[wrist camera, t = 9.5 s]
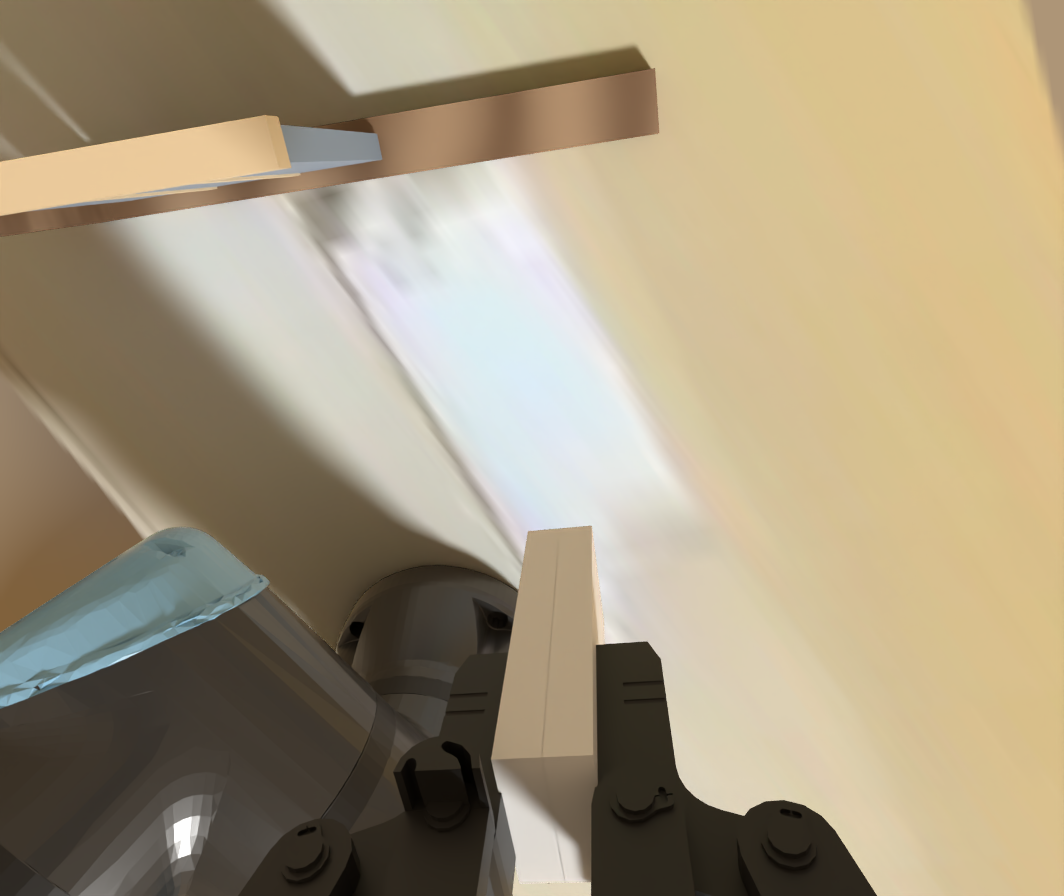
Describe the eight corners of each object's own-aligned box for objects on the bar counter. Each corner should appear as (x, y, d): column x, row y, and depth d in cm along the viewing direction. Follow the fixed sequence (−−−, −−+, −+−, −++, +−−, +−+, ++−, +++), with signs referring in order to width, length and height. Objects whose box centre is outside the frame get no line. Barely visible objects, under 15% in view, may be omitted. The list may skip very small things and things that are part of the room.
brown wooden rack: (100, 222, 38) (-147, 257, 25) (80, 169, 37) (-189, 177, 24) (657, 133, 34) (697, 122, 21) (652, 71, 33) (692, 19, 20)
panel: (127, 205, 36) (-101, 230, 24) (115, 173, 35) (-124, 183, 24) (387, 163, 34) (279, 168, 22) (379, 128, 34) (264, 115, 22)
